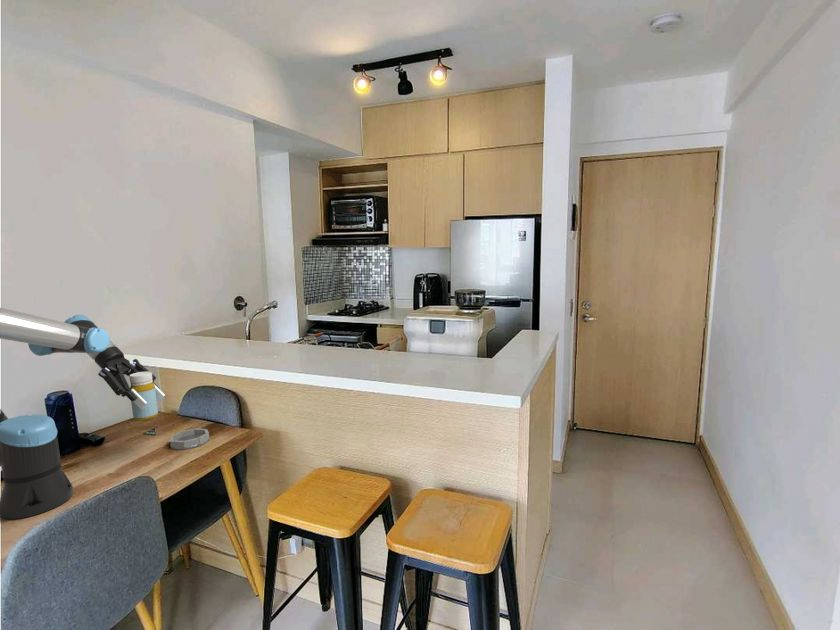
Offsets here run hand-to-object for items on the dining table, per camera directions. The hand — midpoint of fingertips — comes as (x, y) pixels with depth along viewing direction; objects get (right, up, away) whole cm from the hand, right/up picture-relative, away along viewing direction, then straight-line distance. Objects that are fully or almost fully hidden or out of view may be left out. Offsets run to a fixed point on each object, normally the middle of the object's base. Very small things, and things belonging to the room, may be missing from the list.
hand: (153, 402), depth 144 cm
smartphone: (-13, -16, +29) cm, 36 cm away
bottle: (-3, -6, +1) cm, 7 cm away
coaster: (+5, -17, +13) cm, 22 cm away
